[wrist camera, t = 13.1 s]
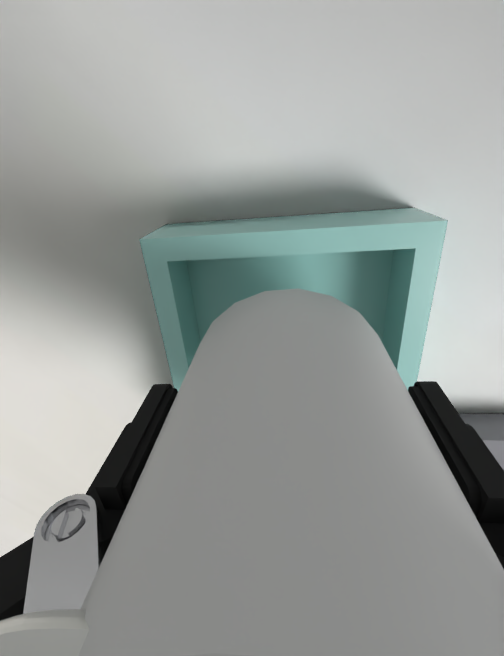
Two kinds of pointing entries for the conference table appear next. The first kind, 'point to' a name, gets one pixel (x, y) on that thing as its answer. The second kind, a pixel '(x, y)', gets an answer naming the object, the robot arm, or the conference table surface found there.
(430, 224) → the trough
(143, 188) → the conference table surface
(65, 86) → the conference table surface
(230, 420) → the can
